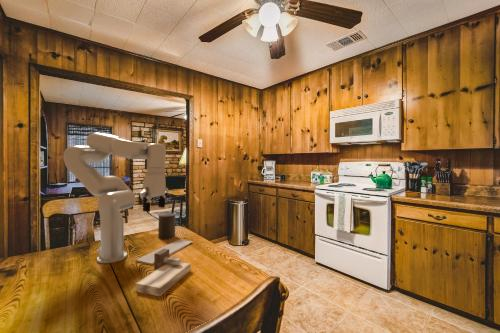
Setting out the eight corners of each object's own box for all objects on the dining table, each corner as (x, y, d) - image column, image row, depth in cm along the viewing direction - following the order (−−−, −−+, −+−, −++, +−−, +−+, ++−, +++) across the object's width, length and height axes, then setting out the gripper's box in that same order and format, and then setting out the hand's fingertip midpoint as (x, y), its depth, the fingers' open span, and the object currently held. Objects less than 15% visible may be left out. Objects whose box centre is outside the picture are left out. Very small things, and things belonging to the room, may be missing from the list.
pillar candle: (165, 240, 138) (165, 214, 138) (154, 237, 143) (155, 212, 143) (178, 236, 146) (178, 212, 146) (168, 233, 151) (168, 210, 151)
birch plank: (136, 291, 84) (136, 283, 84) (170, 267, 104) (170, 260, 103) (159, 296, 82) (159, 287, 81) (190, 270, 101) (190, 263, 101)
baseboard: (131, 261, 110) (151, 266, 106) (131, 255, 110) (151, 260, 106) (176, 240, 139) (193, 244, 134) (176, 236, 139) (193, 238, 134)
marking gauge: (154, 272, 99) (154, 253, 99) (163, 266, 105) (163, 248, 104) (175, 276, 96) (175, 256, 96) (183, 269, 102) (183, 251, 102)
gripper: (161, 170, 115) (160, 204, 115) (134, 171, 98) (132, 212, 99) (174, 171, 112) (173, 206, 113) (149, 172, 96) (147, 214, 97)
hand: (154, 209), depth 106 cm, fingers open, 9 cm apart
